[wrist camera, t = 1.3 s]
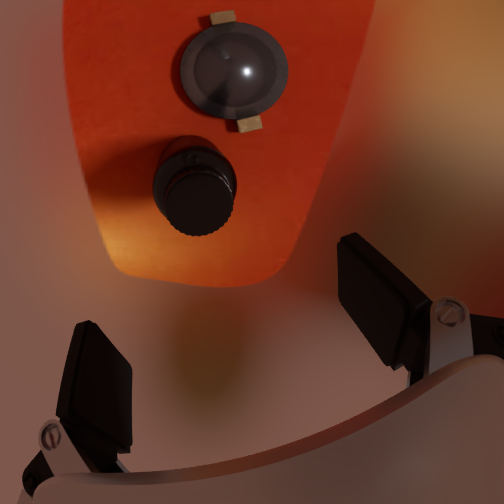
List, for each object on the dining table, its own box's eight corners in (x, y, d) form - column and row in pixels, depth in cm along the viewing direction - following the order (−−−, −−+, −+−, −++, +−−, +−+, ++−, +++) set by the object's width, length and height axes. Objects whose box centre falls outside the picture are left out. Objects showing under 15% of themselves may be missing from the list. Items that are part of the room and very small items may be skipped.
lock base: (167, 27, 19) (166, 24, 18) (270, 9, 20) (273, 6, 19) (198, 143, 26) (199, 144, 25) (295, 119, 27) (299, 120, 26)
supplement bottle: (158, 196, 28) (148, 250, 18) (159, 134, 25) (145, 153, 15) (219, 195, 30) (242, 248, 20) (225, 135, 27) (254, 156, 17)
